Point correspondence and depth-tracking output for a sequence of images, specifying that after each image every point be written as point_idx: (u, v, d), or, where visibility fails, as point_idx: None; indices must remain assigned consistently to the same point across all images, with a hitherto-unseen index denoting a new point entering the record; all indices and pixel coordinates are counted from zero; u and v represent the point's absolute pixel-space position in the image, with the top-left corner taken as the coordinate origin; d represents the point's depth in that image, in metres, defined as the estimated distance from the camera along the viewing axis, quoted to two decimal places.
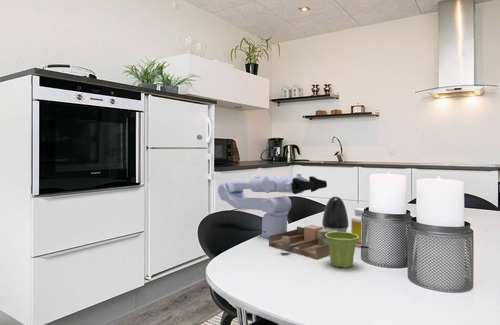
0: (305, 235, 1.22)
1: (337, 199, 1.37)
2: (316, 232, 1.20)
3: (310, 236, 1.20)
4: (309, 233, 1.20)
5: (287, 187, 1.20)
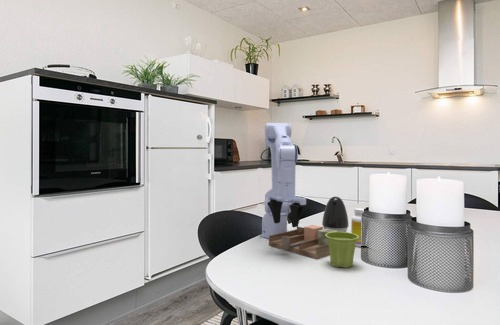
0: (305, 235, 1.22)
1: (337, 199, 1.37)
2: (316, 232, 1.20)
3: (310, 236, 1.20)
4: (309, 233, 1.20)
5: None
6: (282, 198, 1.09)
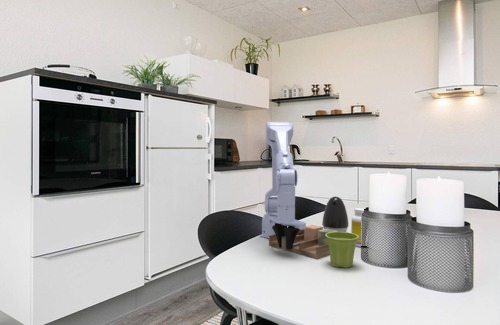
0: (305, 235, 1.22)
1: (337, 199, 1.37)
2: (316, 232, 1.20)
3: (310, 236, 1.20)
4: (309, 233, 1.20)
5: None
6: (282, 222, 1.09)
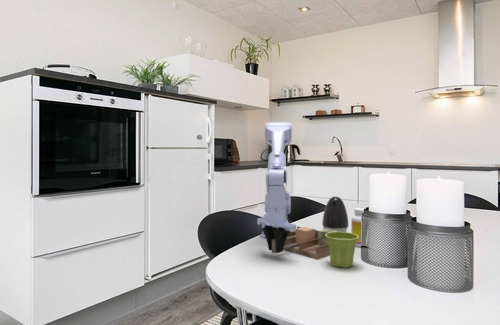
0: (297, 237, 1.19)
1: (337, 199, 1.37)
2: (308, 234, 1.17)
3: (302, 238, 1.17)
4: (301, 235, 1.17)
5: None
6: (271, 224, 1.06)
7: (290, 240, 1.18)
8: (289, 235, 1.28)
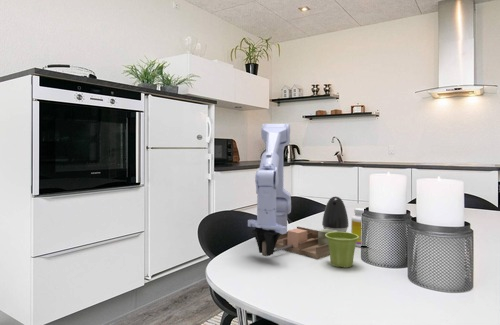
0: (288, 239, 1.16)
1: (337, 199, 1.37)
2: (300, 236, 1.14)
3: (294, 241, 1.14)
4: (293, 237, 1.14)
5: None
6: (262, 226, 1.03)
7: None
8: None
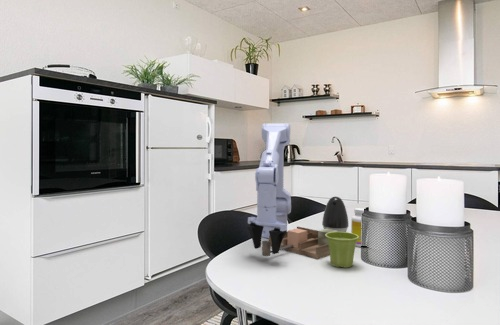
0: (288, 239, 1.16)
1: (337, 199, 1.37)
2: (300, 236, 1.14)
3: (294, 241, 1.14)
4: (293, 237, 1.14)
5: None
6: (262, 223, 1.03)
7: None
8: None
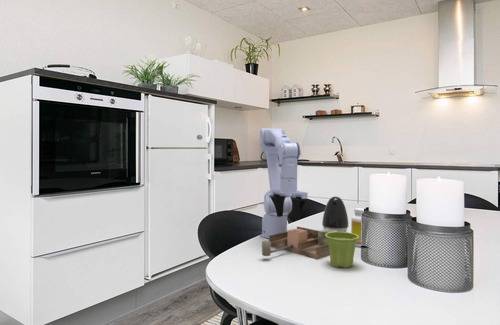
0: (288, 239, 1.16)
1: (337, 199, 1.37)
2: (300, 236, 1.14)
3: (294, 241, 1.14)
4: (293, 237, 1.14)
5: None
6: (285, 192, 1.15)
7: None
8: None
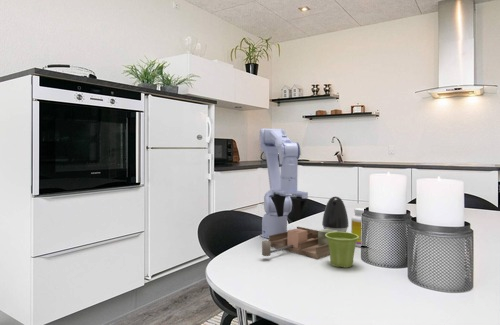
0: (288, 239, 1.16)
1: (337, 199, 1.37)
2: (300, 236, 1.14)
3: (294, 241, 1.14)
4: (293, 237, 1.14)
5: None
6: (285, 192, 1.15)
7: None
8: None
